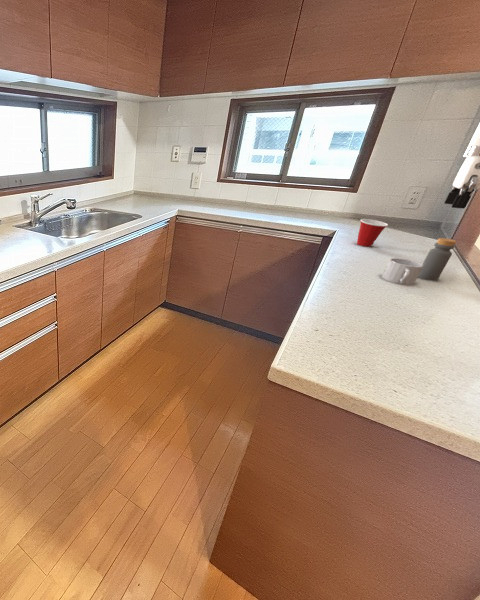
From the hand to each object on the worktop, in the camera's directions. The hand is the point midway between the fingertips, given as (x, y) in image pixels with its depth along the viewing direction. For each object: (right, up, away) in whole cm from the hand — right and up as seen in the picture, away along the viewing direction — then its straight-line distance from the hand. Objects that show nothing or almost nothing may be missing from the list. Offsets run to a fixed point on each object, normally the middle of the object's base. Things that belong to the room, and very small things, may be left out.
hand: (453, 205), depth 114 cm
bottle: (+1, -25, +10) cm, 27 cm away
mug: (-13, -26, +7) cm, 30 cm away
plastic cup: (+12, -6, +49) cm, 51 cm away
